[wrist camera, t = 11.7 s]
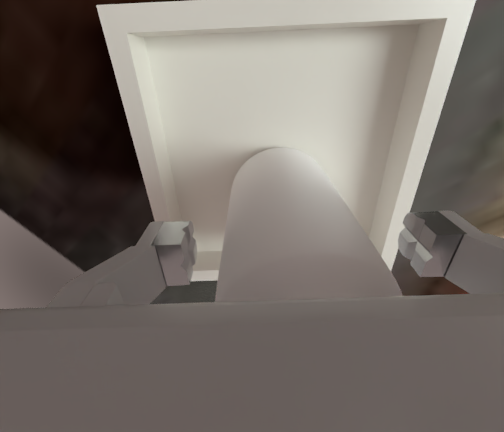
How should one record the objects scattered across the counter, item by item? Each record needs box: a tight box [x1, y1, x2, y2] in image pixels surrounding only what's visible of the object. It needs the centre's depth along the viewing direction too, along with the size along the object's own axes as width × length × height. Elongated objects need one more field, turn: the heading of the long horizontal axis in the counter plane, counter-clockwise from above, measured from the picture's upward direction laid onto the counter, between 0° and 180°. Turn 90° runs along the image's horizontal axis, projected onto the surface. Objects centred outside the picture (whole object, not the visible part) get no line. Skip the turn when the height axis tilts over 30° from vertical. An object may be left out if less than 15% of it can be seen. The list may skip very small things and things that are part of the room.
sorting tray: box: [96, 0, 476, 281], centre depth 16 cm, size 16×16×3 cm
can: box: [215, 148, 402, 302], centre depth 13 cm, size 6×6×12 cm
